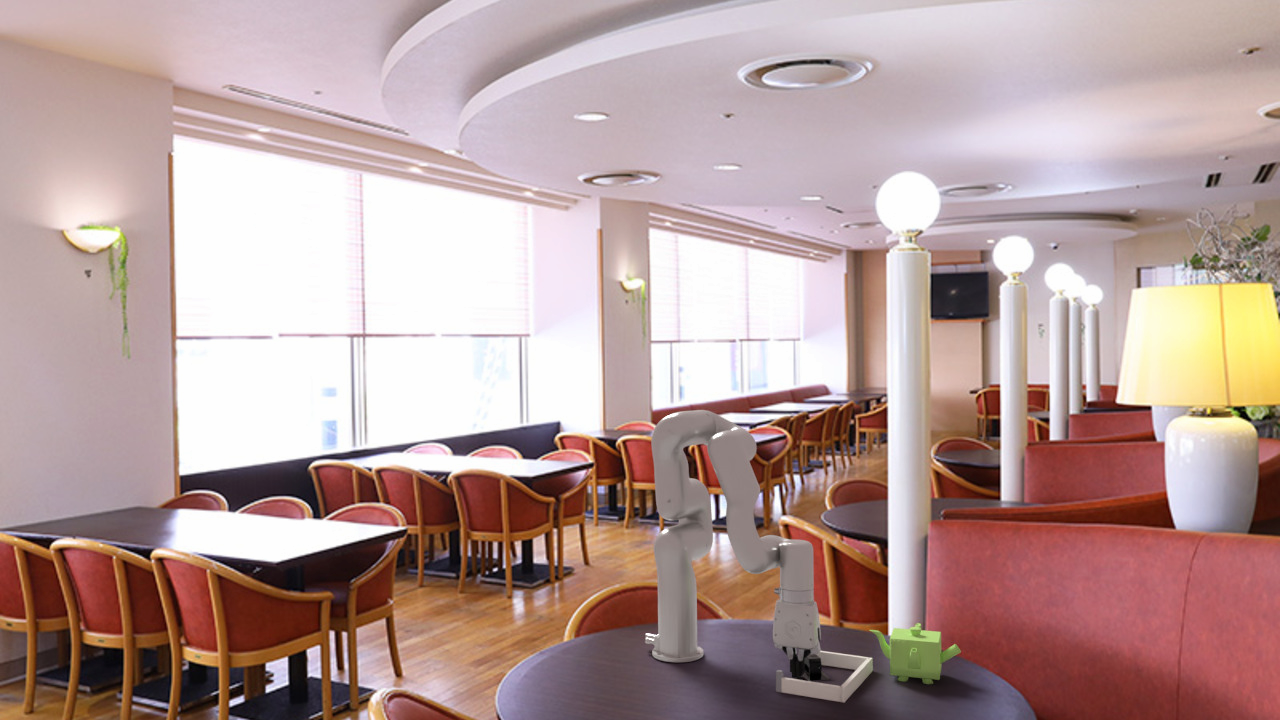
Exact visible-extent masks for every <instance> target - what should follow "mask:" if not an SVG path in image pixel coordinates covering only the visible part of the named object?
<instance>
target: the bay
mask: <svg viewBox="0 0 1280 720" xmlns="http://www.w3.org/2000/svg"><path fill="white" fill-rule="evenodd" d="M816 655H817V656H819V657H820V658H821V666H825V667H826V666H828V667H835V668H840V669H848V670H854V672H853V673H851V674H850V676H849V677H848V678H847V679H846V680H845V681H844V682H843V683H842V684H841V685H837V684H830V683H824V682H823V683H822V682H817V681H816V682H815V681H808V680H803V679H798V678H792V677H784V671H783V670H781V669H777V670H776V671H775V692H777V693H784V694H789V695H795V696H801V697H802V696H803V697H809V698H814V699H820V700H826V701H833V702H840V703H846V701H847V700H848V699H849V698H850V697H851V696H852V695H853V694H854V692H856V690H857V689H858V688H859V687H860V686H861V685H862V684H863V682H864V681H866V679H867V678H868V677H869V675H870V674H872V673H873V671H874V667H873V657H869V656H861V655H855V654H847V653H846V654H845V653H840V652H833V651H825V650H821V651H820V652H819V653H818V654H816Z"/></svg>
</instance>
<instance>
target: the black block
mask: <svg viewBox="0 0 1280 720" xmlns="http://www.w3.org/2000/svg"><path fill="white" fill-rule="evenodd" d="M822 667H823V665H821V658H820V657H819V656H817V655H816V654H809V655H808V656H807V657H806V658H805V672H804V674H803V675H802V676H801V677H802V678H803V677H804V679H806V681H811V682H815V681H816V682H817V681H826V680H827V681H828V680H831V678H830V677H829V676H828V675H827V674H826V673H825V672H823V671H822Z"/></svg>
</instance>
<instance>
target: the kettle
mask: <svg viewBox="0 0 1280 720" xmlns="http://www.w3.org/2000/svg"><path fill="white" fill-rule="evenodd" d="M869 631H870V632H871V633H873V634H874V635H875V636H876V638H877V639H878V642H879V645H880V646H879V647H880V648H881V651H882V653H883V655H884V656H885V657H886V658H887V659H889V675H890V676H895V677H898V678H897V679H896V680H897V681H898V682H902V683H903V682H908V681H909V678H913V679H914V678H916V679H921V680H922V681H921V682H922V683H923V684H924V685H925V684H926V685H933V684H934V681H933V680H935V681H936V680H937V681H939V680H940V679H941V673H942V664H943V663H945V662H946V661H949V660H950V659H951V658H953V657H954V656H956V655H958V654H960V653H961V652H962V651H961V649H960V648H959V646H958V645H957V644H956V643H954V644H953V645H952V646H949V647H948V648H946V649H945V650H943V651H942V632H941V631H935V630H934V631H932V630H924V629H923V630H922V624H921V623H919V622H917V623H916V624H915V625H914V626H911V627H910V628H899V627H897V628H896V627H893V629H892V632H891V635H890V637H889V644H888V643H887V642H886V641H887V640H886V638H885V636H884V633H882V632H881V631H879V630H878V629H877V630H876V629H869Z"/></svg>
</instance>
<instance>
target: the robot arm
mask: <svg viewBox="0 0 1280 720" xmlns="http://www.w3.org/2000/svg"><path fill="white" fill-rule="evenodd" d="M650 440H651V453H652V460H653V470H654V471H653V472H654V474H653V475H654V476H653V477H654V489H655V490H654V491H655V502H656V503H655V504H656V509H657V510H656V511H657V512H658V515H659V516H660V517H661V518H662V519H664V520H666V521H671V522H672V521H678V524H675V525H672V526H669V527H666V528H665V529H663V530H660V532H659V533H658V534H657V536H655V539H654V544H653V555H654V560H655V561H654V562H655V566H656V573H657V575H656V576H657V628H658V629H657V630H658V631H657V633H658V634H653V633H648V632H647V633H645V637H644V643H645V644H648V645H653V646H654V648H653V649H652V651H651V655H652V657H653V658H654V659H656V660H657V661H663V662H667V663H689V662H695V661H698V660H700V659H701V658H703V657H704V649H703V648H702V647H701V646H699V645H698V607H697V605H698V604H697V603H698V602H697V601H698V600H697V599H698V598H697V597H698V596H697V595H698V594H697V593H698V592H697V579H696V577H697V576H696V573H695V571H694V567H693V564H692V562H694V561H696V560H699V559H702V558H704V557H706V556H707V555H708V554H709V552H710V551H711V549H712V547H713V542H714V528H713V518H712V517H713V516H712V504H711V503H712V502H711V496H710V493H709V490H708V489H707V487H706V485H705V484H704V483H703V482H702V481H700V480H699V479H696V478H691V477H690V472H689V469H690V468H689V463H688V462H689V461H688V459H687V456H686V453H685V452H684V448H686V447H690V446H698V445H704V446H706V449H707V455H708V457H709V460H710V463H711V466H712V467H713V470H714V473H715V476H716V478H717V481H718V483H719V485H720V486H719V487H720V489H721V490H722V493H723V496H724V498H725V499H724V500H725V501H726V508H725V509H726V510H725V516H726V517H725V518H726V520H725V521H726V523H725V524H726V532H727V536H728V539H729V542H730V546H731V548H732V550H733V554H734V556H735V558H736V560H737V562H738V563H739V565H740V566H741V568H742V569H743V570H744V571H746V572H747V573H749V574H753V575H759V574H762V573H765V572H767V571H770V570H773V569H776V568H779V587H775V588H774V589H773V591H774V594H776V595H778V596H779V597H778V599H776V603H775V606H774V608H775V609H774V614H773V615H774V616H773V624H772V641H773V643H774V644H773V646H774V648H776V649H778V650H781V651H783V652H784V654H785V655H787V658H788V660H789V672H790V673H791V678H792V679H798V680H800V678H801V677H803V676H802V675H803V674H804V672H805V658H806V657H807V656H808V655H809V654H818V653H819V652H820V651H822V649H821V645H820V643H821V641H822V638H821V637H822V636H821V635H822V633H821V632H822V631H821V621H820V615H819V614H820V612H819V608H818V604H817V601H815V598H814V596H815V595H814V591H815V590H814V588H815V587H814V586H815V585H814V582H815V580H814V579H815V577H814V575H815V572H814V571H815V570H814V567H815V566H814V546H813V544H812V543H811V542H810V541H808V540H804V539H790V538H789V539H788V538H786V537H783V536H778V535H775V534H767V535H764V536H761V537H760V535H759V533H758V530H757V526H756V522H755V515H754V514H755V512H754V511H755V506H756V504H757V501H758V499H759V495H760V493H761V487H760V484H759V482H758V480H757V477H756V475H755V472H754V470H753V467H752V465H751V462H750V461H752V460H753V459H754V457H755V455H756V454H757V442H756V439H755V438H754V436H753V435H752V434H751V433H750V432H749V431H748V430H746V429H745V428H743V427H742V426H740V425H738V424H736V423H734V422H732V421H730V420H728V419H726V418H725V417H722V416H721V415H719V414H717V413H715V412H712V411H710V410H707V409H706V410H705V409H696V410H695V409H694V410H684V411H683V410H682V411H677V412H673V413H671V414H669V415H666V416H665V417H663V418H662V419H661V420H659V421H658V423H656V425H655V427H654V429H653V432H652V434H651V439H650ZM797 649H798V653H797Z"/></svg>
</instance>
